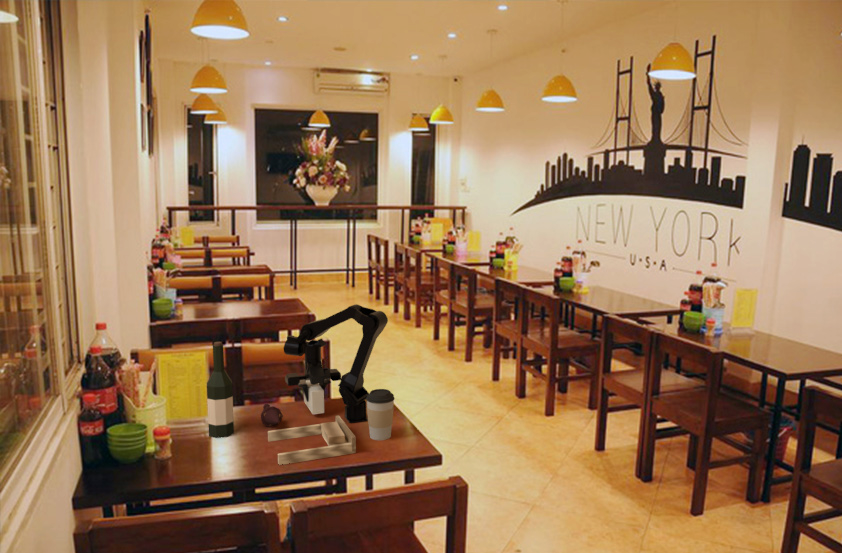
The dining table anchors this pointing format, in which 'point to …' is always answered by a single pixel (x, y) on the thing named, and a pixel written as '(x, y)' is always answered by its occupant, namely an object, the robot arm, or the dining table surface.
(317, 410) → the white rectangular block
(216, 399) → the wine bottle
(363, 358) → the robot arm
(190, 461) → the dining table surface
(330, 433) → the offcut upper
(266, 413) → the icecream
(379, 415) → the coffee cup
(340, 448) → the frame
